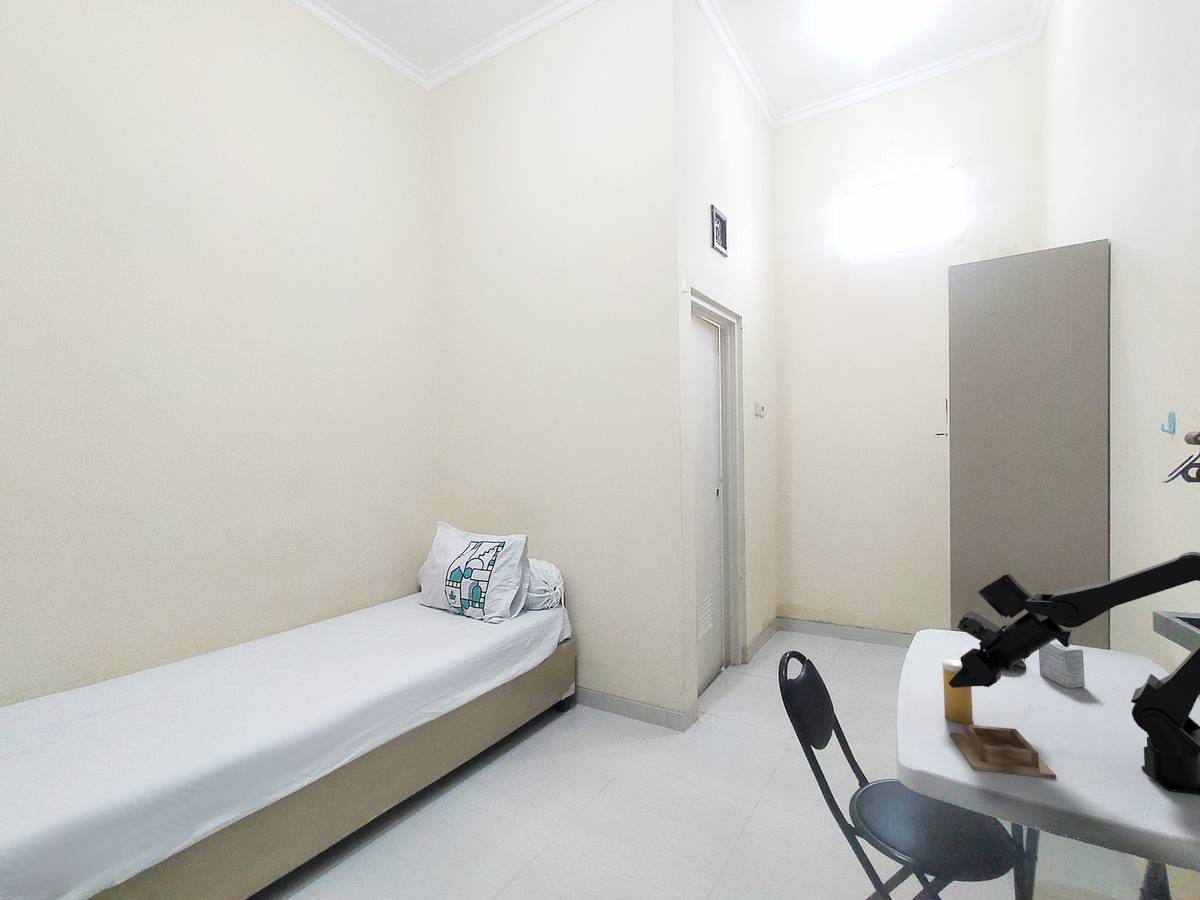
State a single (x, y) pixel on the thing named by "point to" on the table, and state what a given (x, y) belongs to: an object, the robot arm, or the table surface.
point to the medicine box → (1062, 664)
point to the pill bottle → (956, 695)
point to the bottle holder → (1000, 751)
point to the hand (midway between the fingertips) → (957, 678)
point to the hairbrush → (1020, 665)
